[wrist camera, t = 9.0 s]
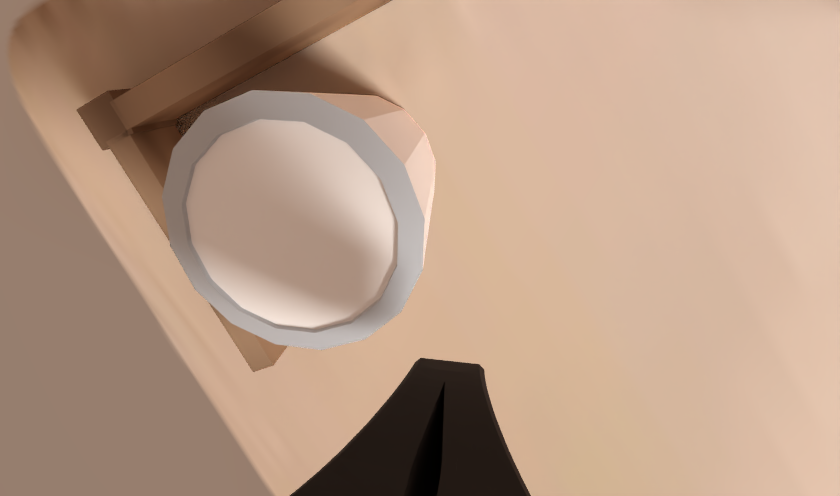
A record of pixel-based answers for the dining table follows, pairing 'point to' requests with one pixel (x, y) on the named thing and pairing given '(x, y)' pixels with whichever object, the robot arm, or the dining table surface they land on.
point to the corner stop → (195, 85)
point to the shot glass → (302, 213)
